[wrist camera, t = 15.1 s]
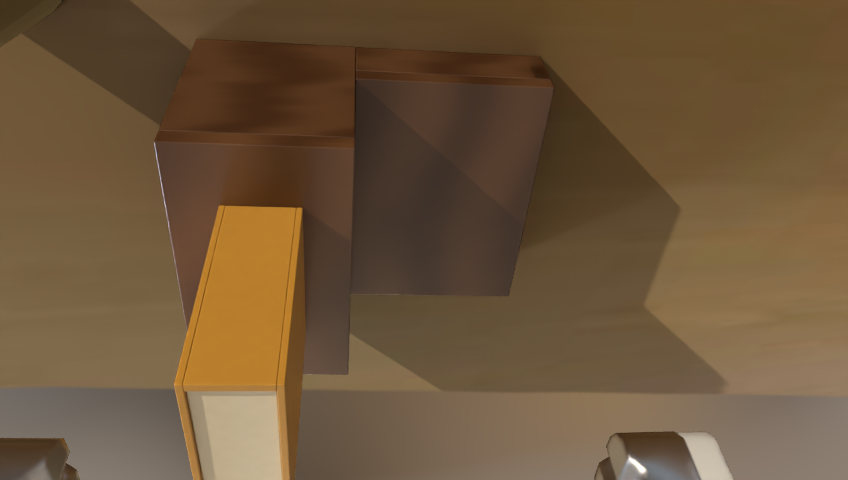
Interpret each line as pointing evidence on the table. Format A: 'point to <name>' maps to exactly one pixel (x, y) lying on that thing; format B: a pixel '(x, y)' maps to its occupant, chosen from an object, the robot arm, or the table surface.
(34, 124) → the table surface
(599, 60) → the table surface
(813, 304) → the table surface
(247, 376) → the book
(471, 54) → the wooden l-shaped block
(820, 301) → the table surface
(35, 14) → the tan pawn game piece
